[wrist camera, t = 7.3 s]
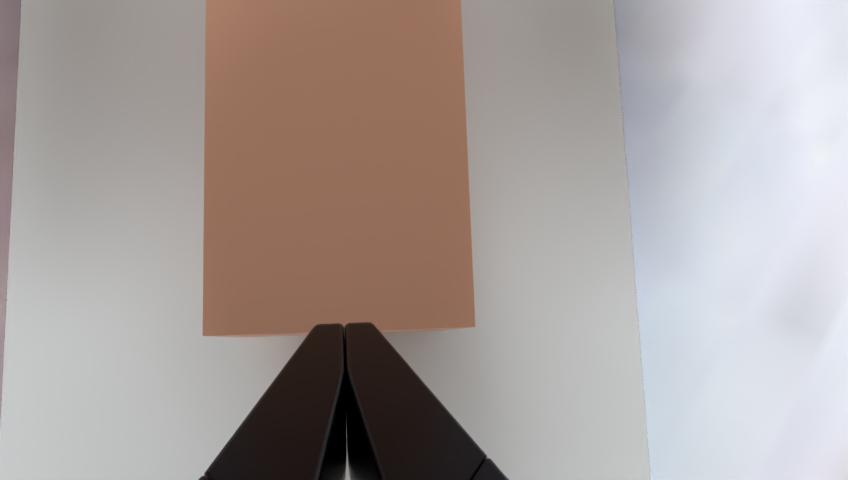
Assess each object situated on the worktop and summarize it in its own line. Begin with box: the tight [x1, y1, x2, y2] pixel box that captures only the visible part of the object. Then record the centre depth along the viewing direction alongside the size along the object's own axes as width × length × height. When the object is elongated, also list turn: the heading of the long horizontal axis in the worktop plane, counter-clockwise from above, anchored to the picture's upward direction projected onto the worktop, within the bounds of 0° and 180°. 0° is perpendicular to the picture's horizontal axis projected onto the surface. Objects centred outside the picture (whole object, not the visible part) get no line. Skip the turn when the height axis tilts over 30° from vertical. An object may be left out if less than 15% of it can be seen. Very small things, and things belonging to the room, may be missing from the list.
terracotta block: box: [203, 0, 475, 338], centre depth 16 cm, size 5×5×15 cm
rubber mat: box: [0, 0, 651, 480], centre depth 18 cm, size 24×16×1 cm, turn 2°
